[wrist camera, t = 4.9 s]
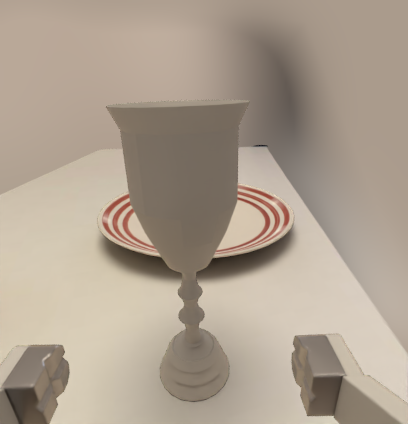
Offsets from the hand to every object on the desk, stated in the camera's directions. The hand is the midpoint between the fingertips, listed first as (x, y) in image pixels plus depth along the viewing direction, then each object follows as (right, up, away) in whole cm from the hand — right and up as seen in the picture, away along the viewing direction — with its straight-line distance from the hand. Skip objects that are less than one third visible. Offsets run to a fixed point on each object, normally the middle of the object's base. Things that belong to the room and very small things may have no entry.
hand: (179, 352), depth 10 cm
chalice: (0, -7, +11) cm, 13 cm away
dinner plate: (0, +3, +33) cm, 33 cm away
